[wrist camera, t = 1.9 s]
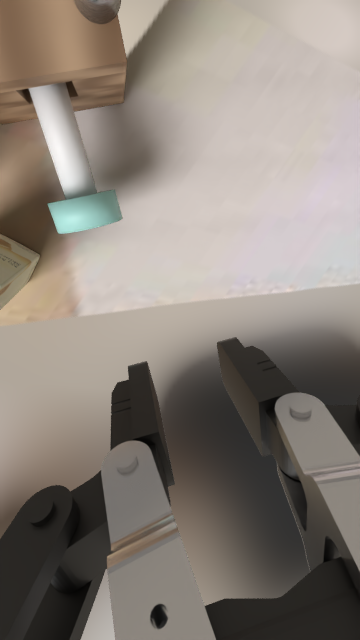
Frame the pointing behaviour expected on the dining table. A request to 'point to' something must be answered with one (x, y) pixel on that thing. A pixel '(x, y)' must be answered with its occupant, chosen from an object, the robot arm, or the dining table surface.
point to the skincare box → (14, 268)
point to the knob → (71, 165)
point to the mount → (57, 56)
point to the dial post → (98, 10)
